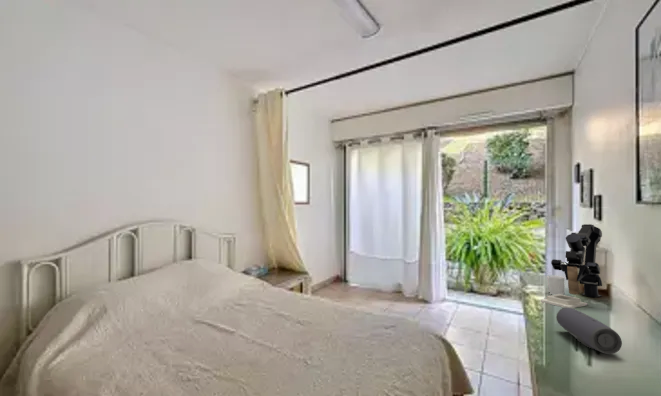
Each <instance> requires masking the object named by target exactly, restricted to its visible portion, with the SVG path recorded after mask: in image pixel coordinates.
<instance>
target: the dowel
mask: <svg viewBox="0 0 661 396" xmlns="http://www.w3.org/2000/svg"><path fill="white" fill-rule="evenodd" d="M567 273H568V280H567V284H568V293H569V294H571V295H580V282H579V281H577V277H578V273H579V271H578V269H577V267H576V266H567Z"/></svg>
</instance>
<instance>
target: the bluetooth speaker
mask: <svg viewBox="0 0 661 396" xmlns="http://www.w3.org/2000/svg"><path fill="white" fill-rule="evenodd" d="M556 321H557V323H558V324H559V326H560V327H562V328H563V329H564V330H565V331H567V332H568V333H569V334H570V335H571V336H572V337H574V338H575V340H576V339H577V340H576V341H578V342H579V343H580V342H581V343H580V344H582V345H583V344H584V346H585V347H586V346H587V347H586V348H588V347H589V348H588V349H590V348H592V349H591V350H593V349H595V351H598V352H600V353H602V354H605V355H613V354H616V353H618V352H619V351H620V350H621V348H622V347H623V346H622V345H623V341H622V337H621V335H620V334H619V333H618V332H617V331H615V330H614V329H612V328H611V327H610V326H608V325H607V324H605V323H603V322H601V321H599V320H598V319H595V318H594V317H592V316H590V315H588V314H586V313H584V312H582V311H581V310H580V311H579V310H578V309H576V308H564V307H561V308H560V309H559V310H558V311H557V314H556Z"/></svg>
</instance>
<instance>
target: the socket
mask: <svg viewBox="0 0 661 396" xmlns="http://www.w3.org/2000/svg"><path fill="white" fill-rule="evenodd" d="M540 302H541V303H544V302H545V304H548V305H553V306H556V307H560V308H572V309H576V308H580V307H585V306H588V302H585V301H581V298H579V297H574V296H570V295H565V294H564V295H562V294H556V295H551V294H550V295H546V298H542V299H540Z"/></svg>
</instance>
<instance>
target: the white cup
mask: <svg viewBox="0 0 661 396" xmlns="http://www.w3.org/2000/svg"><path fill="white" fill-rule="evenodd" d="M547 284H548V290H549V292H550V293H551V294H555V295H556V294H562V295H565V285H566V284H565V277H564V276H561V275H547ZM550 293H549V294H550ZM551 294H550V295H551Z"/></svg>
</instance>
